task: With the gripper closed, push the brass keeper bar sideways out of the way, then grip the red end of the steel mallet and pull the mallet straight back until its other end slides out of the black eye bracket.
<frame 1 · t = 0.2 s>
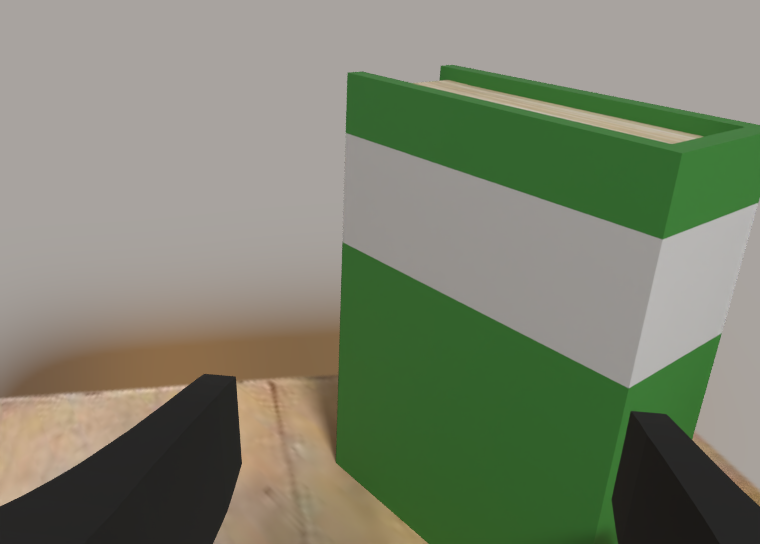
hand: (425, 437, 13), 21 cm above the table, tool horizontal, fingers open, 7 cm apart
hardback book: (478, 520, 41), on the table
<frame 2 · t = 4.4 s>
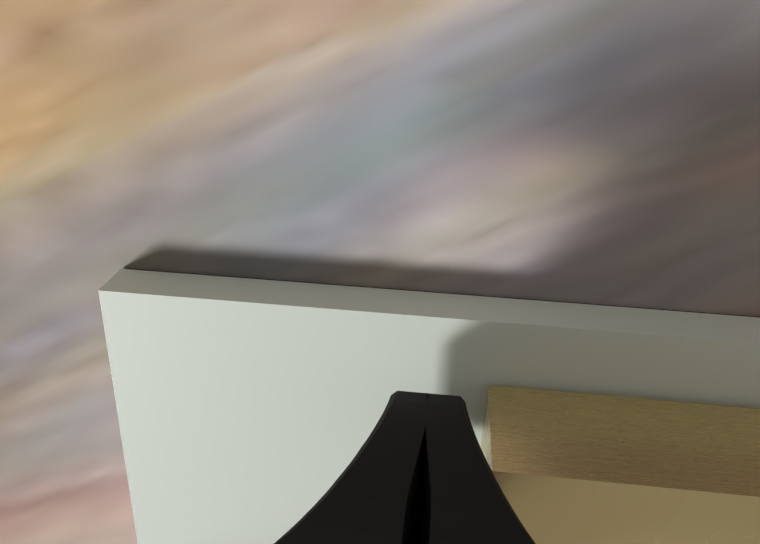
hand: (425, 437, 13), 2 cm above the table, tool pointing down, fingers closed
keeper bar: (718, 480, 12), point 2 cm above the table, slide at 1.1 cm, touching gripper
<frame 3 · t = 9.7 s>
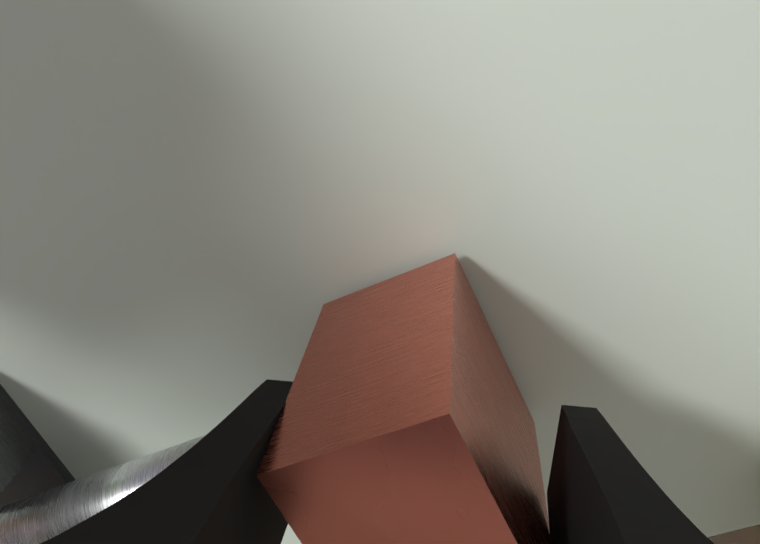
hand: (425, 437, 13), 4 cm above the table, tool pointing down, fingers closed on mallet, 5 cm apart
mallet: (130, 535, 15), point 4 cm above the table, slide at 0.0 cm, touching gripper
board: (250, 330, 17), on the table
eye bracket: (32, 496, 19), resting on board
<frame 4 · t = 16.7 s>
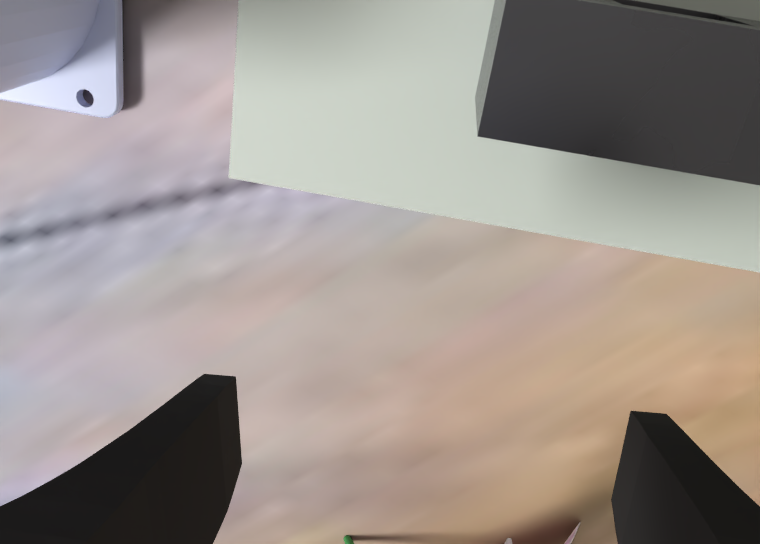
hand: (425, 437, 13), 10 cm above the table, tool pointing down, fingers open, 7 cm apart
eye bracket: (636, 65, 18), resting on board
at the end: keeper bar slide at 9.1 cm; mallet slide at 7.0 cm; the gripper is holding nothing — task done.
